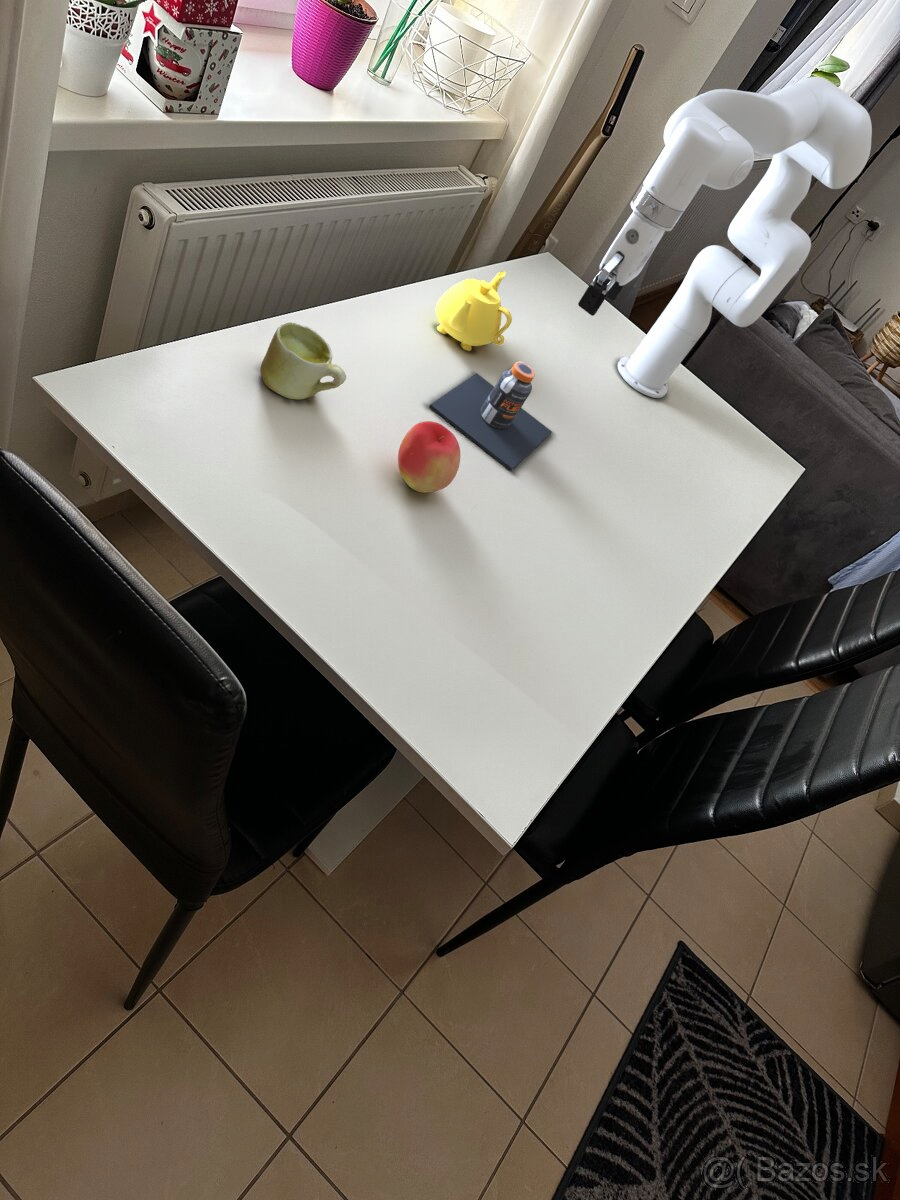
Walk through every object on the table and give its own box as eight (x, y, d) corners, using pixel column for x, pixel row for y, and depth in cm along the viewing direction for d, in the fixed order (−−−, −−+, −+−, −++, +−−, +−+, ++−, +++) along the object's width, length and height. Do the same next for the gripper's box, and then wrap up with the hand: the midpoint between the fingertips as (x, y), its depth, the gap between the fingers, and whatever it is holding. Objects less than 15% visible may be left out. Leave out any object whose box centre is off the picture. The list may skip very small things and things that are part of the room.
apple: (376, 481, 129) (402, 432, 122) (399, 451, 136) (425, 403, 129) (430, 515, 129) (459, 468, 123) (451, 484, 136) (479, 438, 130)
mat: (475, 375, 160) (476, 372, 160) (550, 433, 159) (552, 431, 159) (428, 406, 147) (430, 404, 147) (510, 471, 146) (512, 468, 146)
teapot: (476, 376, 160) (504, 326, 152) (411, 331, 160) (436, 278, 152) (511, 341, 175) (539, 294, 167) (452, 299, 175) (477, 250, 167)
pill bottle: (488, 429, 150) (519, 379, 142) (474, 406, 152) (503, 355, 145) (514, 430, 153) (546, 381, 146) (500, 407, 156) (530, 358, 148)
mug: (236, 363, 128) (277, 314, 124) (269, 360, 138) (307, 314, 134) (292, 424, 129) (334, 378, 125) (320, 417, 138) (360, 373, 134)
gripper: (659, 233, 122) (596, 330, 134) (692, 212, 135) (631, 303, 147) (618, 202, 123) (558, 302, 135) (654, 184, 135) (596, 277, 147)
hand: (596, 302), depth 140 cm, fingers open, 9 cm apart
